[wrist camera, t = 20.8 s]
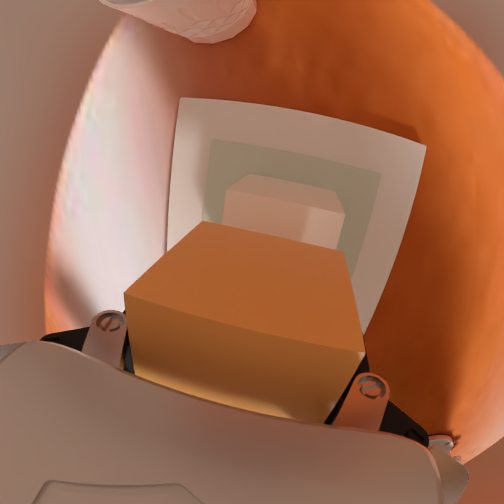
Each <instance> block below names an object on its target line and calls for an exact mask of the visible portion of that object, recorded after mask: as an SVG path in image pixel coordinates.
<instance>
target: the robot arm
mask: <svg viewBox="0 0 504 504" xmlns="http://www.w3.org/2000/svg"><path fill="white" fill-rule="evenodd" d="M362 335H363V333H362ZM363 340H364V337H363ZM364 346H365V342H364ZM365 352H366V347H365ZM389 395H390V388H389V385H388V384H387V382H386V381H385V380H384V379H383V378H382V377H380V376H379V375H377V374H374V373H370V371H369V365H368V359H367V353H365V355H364V357H363V359H362V361H361V362H360V364H359V366H358V368H357V370H356V371H355V373H354V375H353V377H352V378H351V380H350V382H349V384H348V385H347V387H346V389H345V390H344V392H343V394H342V395H341V397H340V398H339V400H338V402H337V403H336V405H335V406H334V408H333V409H332V411H331V413H330V414H329V416H328V417H327V419H326V420H325V422H324V423H323V424H320V423H313V422H306V421H300V420H294V419H288V418H283V417H278V416H273V415H268V414H263V413H258V412H254V411H250V410H245V409H241V408H237V407H233V406H229V405H225V404H222V403H218V402H214V401H211V400H207V399H204V398H201V397H197V396H194V395H191V394H188V393H185V392H182V391H178V390H175V389H173V388H170V387H167V386H164V385H161V384H158V383H155V382H153V381H150V380H147V379H145V378H142V377H140V376H137V375H135V371H134V366H133V360H132V354H131V348H130V342H129V335H128V328H127V320H126V311H124V312H123V313H122V312H120V311H115V310H107V311H103V312H101V313H98V314H97V315H96V316H95V317H94V319H93V320H92V323H91V326H90V327H86V328H81V329H75V330H69V331H63V332H57V333H51V334H48V335H46V336H44V337H43V338H41V339H40V340H39V341H29V342H23V343H14V344H7V345H0V504H456V503H457V502H458V500H459V498H460V496H461V495H462V493H463V491H464V489H465V487H466V486H467V484H468V480H469V474H468V471H467V469H466V468H465V467H464V466H463V465H462V464H460V463H459V462H460V460H461V456H454V457H451V453H450V451H451V450H452V448H453V440H452V438H451V437H450V436H447V435H433V436H428V435H427V433H426V431H425V430H424V429H423V428H422V427H421V426H420V425H418V424H417V423H416V422H415V421H413V420H412V419H411V418H410V417H408V416H407V415H406V414H405V413H404V412H402V411H401V410H400V409H399V408H397V407H396V406H395V405H394V404H393V403H391V402H390V401H389V400H388V398H389Z"/></svg>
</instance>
